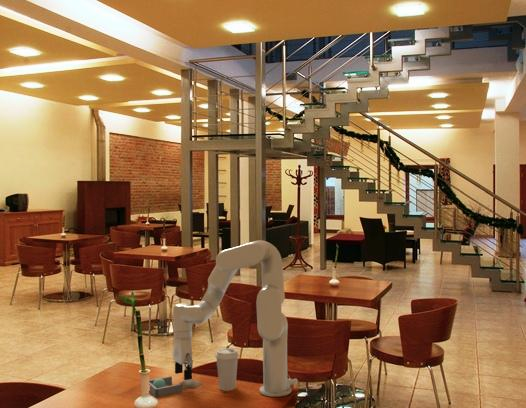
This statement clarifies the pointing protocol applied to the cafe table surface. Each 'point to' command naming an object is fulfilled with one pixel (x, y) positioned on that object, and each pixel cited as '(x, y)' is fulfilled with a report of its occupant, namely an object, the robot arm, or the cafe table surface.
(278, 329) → the robot arm
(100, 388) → the cafe table surface
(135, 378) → the cafe table surface
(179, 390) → the tray
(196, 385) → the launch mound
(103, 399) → the cafe table surface
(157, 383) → the ball
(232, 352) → the coffee cup
